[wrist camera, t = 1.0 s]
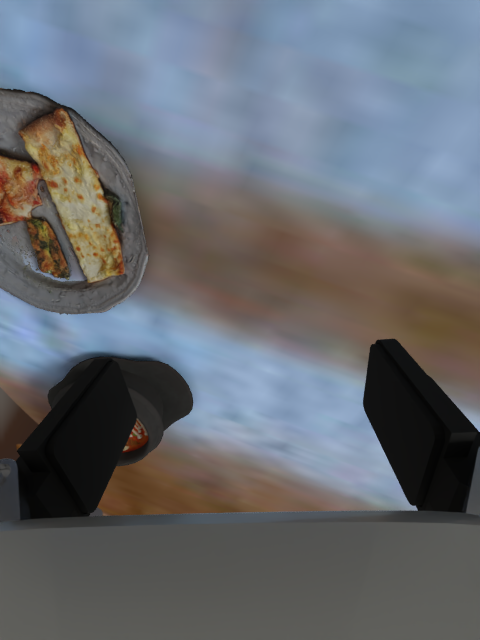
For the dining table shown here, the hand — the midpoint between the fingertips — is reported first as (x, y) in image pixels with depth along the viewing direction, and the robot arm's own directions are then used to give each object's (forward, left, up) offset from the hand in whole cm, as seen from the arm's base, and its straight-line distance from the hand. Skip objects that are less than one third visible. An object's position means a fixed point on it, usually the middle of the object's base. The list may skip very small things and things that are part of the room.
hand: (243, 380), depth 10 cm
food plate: (+19, -15, -28) cm, 37 cm away
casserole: (+32, +11, -28) cm, 44 cm away
